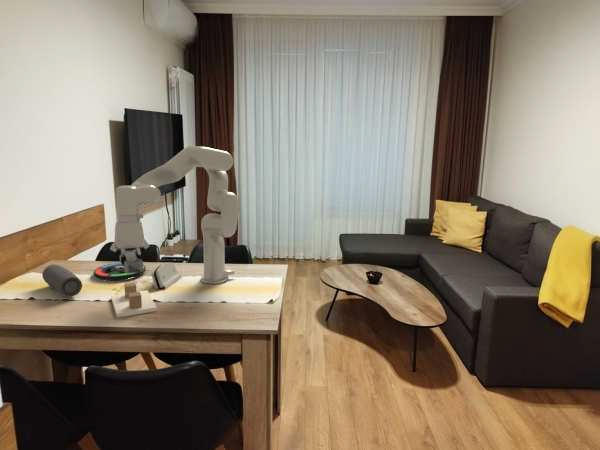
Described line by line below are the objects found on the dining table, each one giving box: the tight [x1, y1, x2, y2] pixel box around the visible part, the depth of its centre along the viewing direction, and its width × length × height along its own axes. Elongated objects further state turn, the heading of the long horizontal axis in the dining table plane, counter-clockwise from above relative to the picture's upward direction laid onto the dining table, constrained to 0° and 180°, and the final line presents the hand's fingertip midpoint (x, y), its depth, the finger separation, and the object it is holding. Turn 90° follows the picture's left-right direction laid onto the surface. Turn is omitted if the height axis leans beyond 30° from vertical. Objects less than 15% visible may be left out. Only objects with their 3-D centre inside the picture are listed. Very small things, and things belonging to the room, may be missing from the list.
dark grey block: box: [119, 249, 144, 274], centre depth 157 cm, size 6×18×4 cm, turn 30°
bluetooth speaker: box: [42, 264, 83, 298], centre depth 170 cm, size 23×9×10 cm, turn 47°
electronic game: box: [93, 262, 147, 282], centre depth 194 cm, size 23×23×5 cm
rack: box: [110, 281, 158, 318], centre depth 160 cm, size 14×20×6 cm
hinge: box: [151, 262, 183, 290], centre depth 185 cm, size 17×5×10 cm, turn 172°
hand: (131, 264), depth 157 cm, fingers closed on dark grey block, 4 cm apart
